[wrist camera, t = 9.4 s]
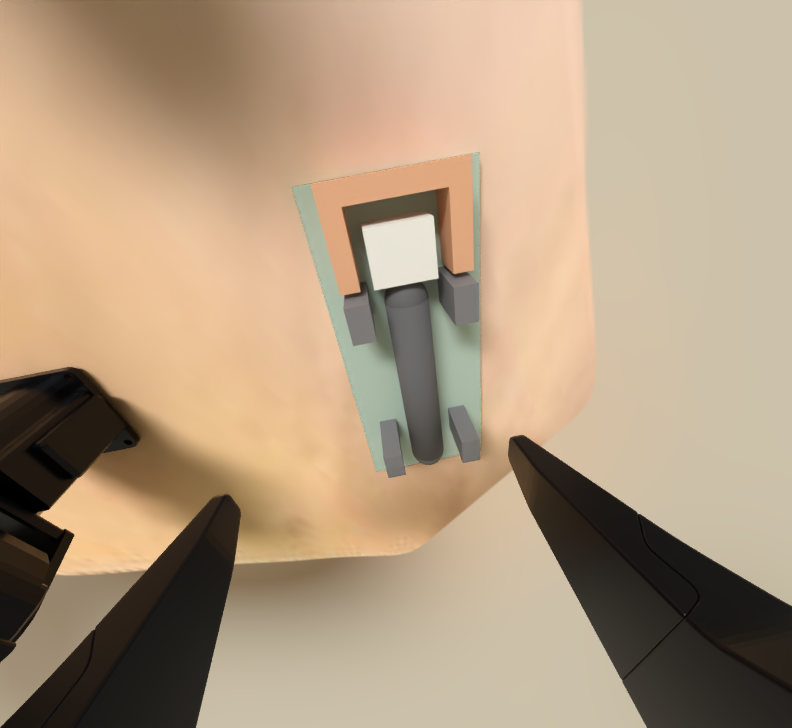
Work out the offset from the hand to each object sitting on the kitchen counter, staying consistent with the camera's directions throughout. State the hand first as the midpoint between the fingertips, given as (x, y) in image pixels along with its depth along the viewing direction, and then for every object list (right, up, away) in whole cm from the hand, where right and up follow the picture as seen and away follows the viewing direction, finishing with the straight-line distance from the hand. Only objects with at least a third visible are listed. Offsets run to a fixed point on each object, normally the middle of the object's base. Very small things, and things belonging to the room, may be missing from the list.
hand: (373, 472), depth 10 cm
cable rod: (+2, +4, +10) cm, 11 cm away
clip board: (+2, +4, +11) cm, 12 cm away
